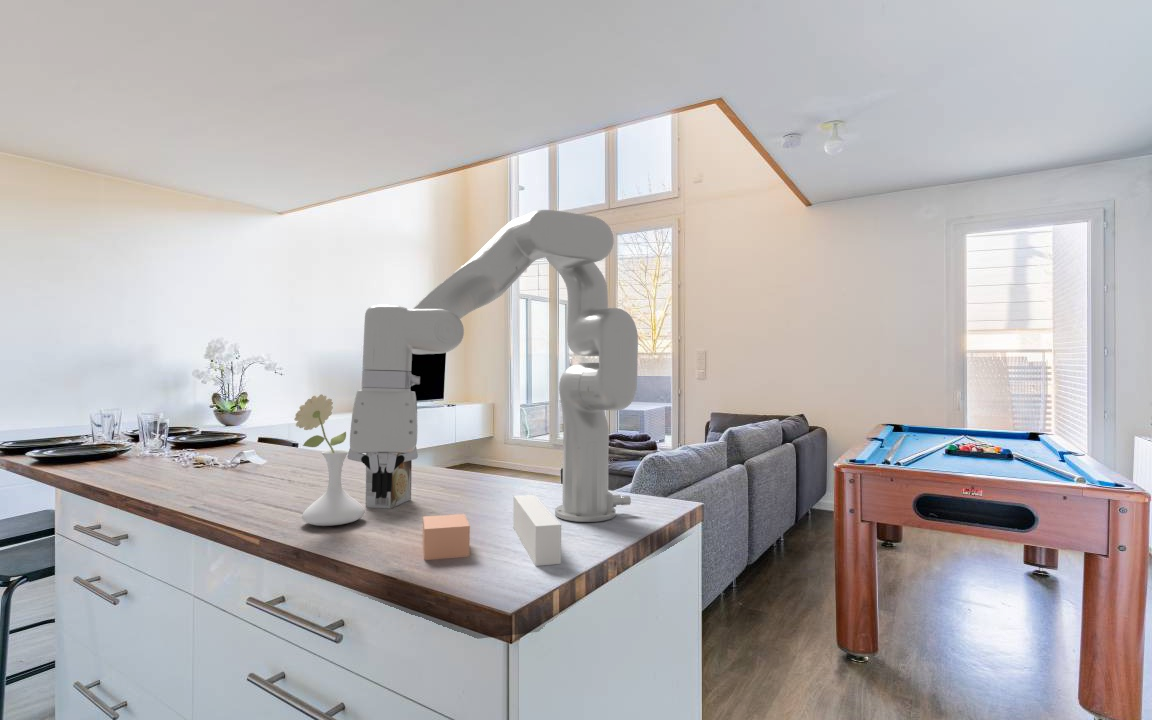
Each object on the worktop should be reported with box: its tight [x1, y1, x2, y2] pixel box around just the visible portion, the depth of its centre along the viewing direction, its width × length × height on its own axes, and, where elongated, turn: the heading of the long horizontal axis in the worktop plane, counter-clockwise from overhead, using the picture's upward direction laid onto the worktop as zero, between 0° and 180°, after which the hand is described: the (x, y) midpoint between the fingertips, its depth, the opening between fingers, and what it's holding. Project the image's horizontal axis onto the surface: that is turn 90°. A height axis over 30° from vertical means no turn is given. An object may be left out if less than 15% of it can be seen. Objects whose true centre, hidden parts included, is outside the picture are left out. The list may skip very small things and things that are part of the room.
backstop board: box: [512, 494, 562, 567], centre depth 96 cm, size 4×22×6 cm, turn 15°
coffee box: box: [365, 453, 413, 510], centre depth 125 cm, size 9×6×16 cm
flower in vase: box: [293, 393, 366, 527], centre depth 108 cm, size 13×11×25 cm
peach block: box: [422, 513, 471, 561], centre depth 92 cm, size 7×8×5 cm
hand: (381, 496), depth 90 cm, fingers closed
